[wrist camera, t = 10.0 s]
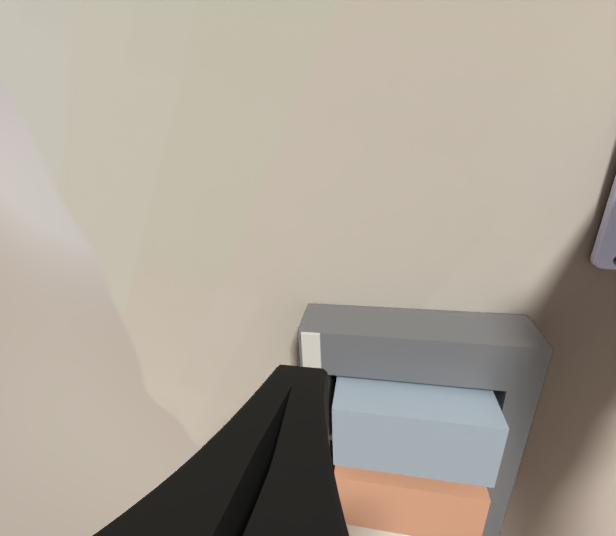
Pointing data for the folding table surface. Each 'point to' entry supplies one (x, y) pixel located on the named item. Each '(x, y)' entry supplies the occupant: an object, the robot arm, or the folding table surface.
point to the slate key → (418, 430)
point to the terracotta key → (411, 503)
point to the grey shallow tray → (437, 364)
